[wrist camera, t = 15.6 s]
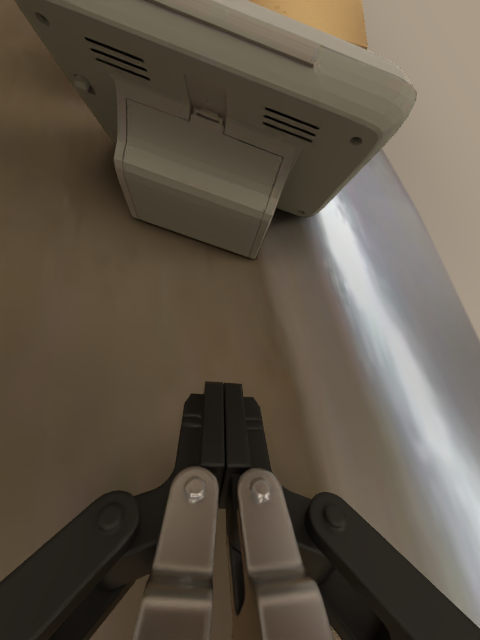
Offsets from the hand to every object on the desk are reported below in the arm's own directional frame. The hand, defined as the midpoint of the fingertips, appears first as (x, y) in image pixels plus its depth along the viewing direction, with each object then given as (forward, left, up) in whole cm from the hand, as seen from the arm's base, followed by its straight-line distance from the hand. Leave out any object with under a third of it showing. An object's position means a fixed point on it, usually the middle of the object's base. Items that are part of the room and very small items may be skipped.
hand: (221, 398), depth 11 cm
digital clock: (+1, -14, -5) cm, 15 cm away
